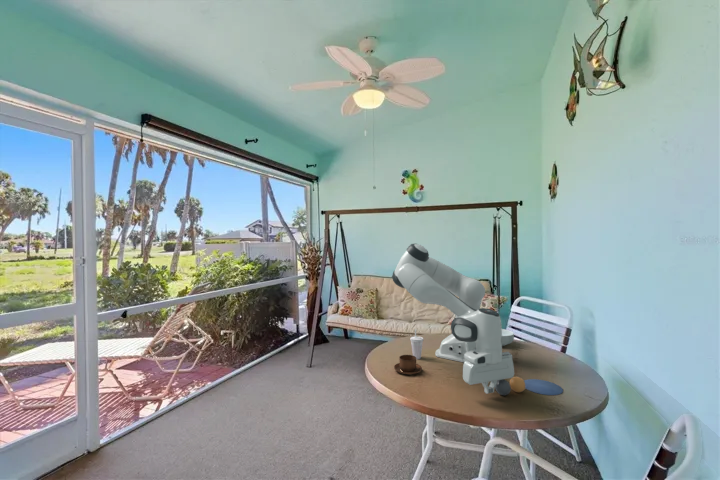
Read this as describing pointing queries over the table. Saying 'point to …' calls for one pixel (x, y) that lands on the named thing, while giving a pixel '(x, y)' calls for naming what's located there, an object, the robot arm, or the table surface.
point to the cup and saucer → (407, 365)
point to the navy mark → (543, 387)
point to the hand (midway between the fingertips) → (489, 392)
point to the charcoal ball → (503, 387)
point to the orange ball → (517, 384)
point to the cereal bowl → (506, 337)
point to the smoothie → (416, 346)
